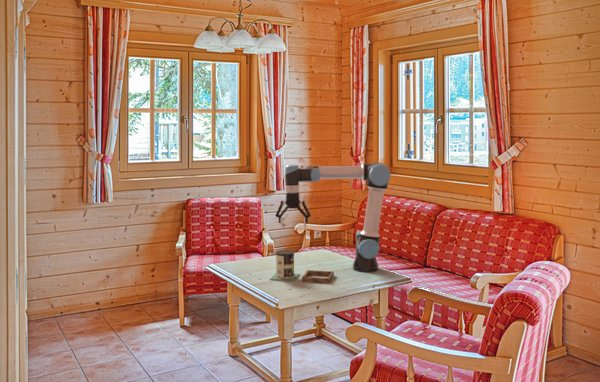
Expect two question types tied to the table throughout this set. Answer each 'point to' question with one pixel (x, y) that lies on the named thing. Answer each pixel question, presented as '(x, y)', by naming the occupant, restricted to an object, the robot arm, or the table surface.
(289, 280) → the mat
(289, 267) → the coffee can
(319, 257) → the table surface
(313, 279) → the tray
